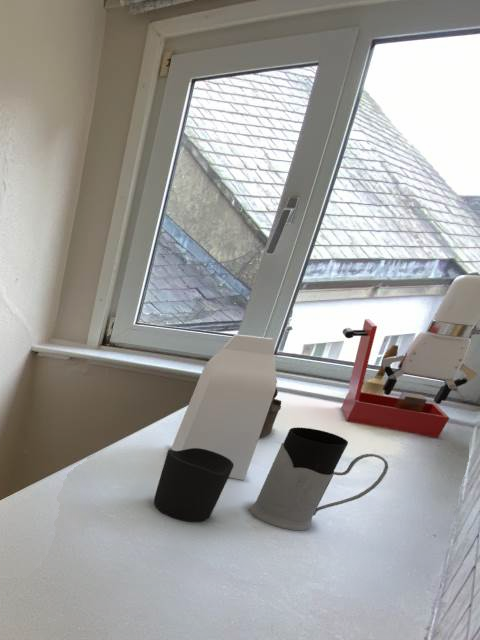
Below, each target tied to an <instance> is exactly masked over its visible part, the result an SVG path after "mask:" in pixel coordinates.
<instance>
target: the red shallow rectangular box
mask: <svg viewBox="0 0 480 640" xmlns="http://www.w3.org/2000/svg"><path fill="white" fill-rule="evenodd" d="M348 390H349V389H348ZM398 399H399V397H395V396H391V395H384V396H383V395H377V394H371V393H365V392H361V393H360V397H359V400H355V399H354V397H353V396H352V394H351V392H350V390H349V391H348V392H347V394H346V396H345V399H344V400H343V403H342V404H341V407H340V409H341V412H342V414H343V416H344V418H345V421H346V422H350V423H354V424H361V425H366V426H371V427H377V428H382V429H386V430H393V431H398V432H404V433H409V434H415V435H420V436H425V437H430V438H436V439H439V437H440V436H441V433H442V432H443V430H444V428H445V427H446V425H447V423H448V421H449V419H450V416H448V414H446V412H445V411H443V409H442V408H440V406H438V404H437V403H431V402H427V401H426V402H425V404H424V406H423V408H422V410H421V412H417V411H411V410H405V409H399V408H394V406H395V404H396V402H397V401H398Z"/></svg>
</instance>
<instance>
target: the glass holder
mask: <svg viewBox="0 0 480 640" xmlns="http://www.w3.org/2000/svg"><path fill="white" fill-rule="evenodd" d="M348 444H349V441H348V440H347V439H345V438H344V437H342V436H339V435H337V434H335V433H331V432H328V431H324V430H321V429H315V428H311V427H292V428H291V427H290V428H289V430H288V432H287V434H286V435H285V439H284V440H283V442H282V443H281V445H280V447H279V448H278V451H277V453H276V456H275V458H274V460H273V462H272V465H271V466H270V469H269V471H268V474H267V476H266V477H265V481H264V483H263V485H262V487H261V489H260V490H259V494H258V496H257V498H256V501H254V503H253V504H251V505H250V506H249V512H250V513H251V514H252V515H253V516H254V517H256V518H257V519H259V520H261V521H263V522H265V523H267V524H270V525H273V526H275V527H279V528H282V529H287V530H290V531H291V530H292V531H307V530H310V529H311V528H312V518H313V516H314V517H315V516H316V514H317V513H318V512H319V511H321V510H325V509H327V508H331V507H336V506H339V505H342V504H347V503H349V502H352V501H355V500H358V499H360V498H362V497H364V496H366V495H367V494H368V493H370V492H371V491H373V490H374V489H376V488H377V486H378V485H379V484H380V483H382V481H383V480H384V478H385V476H386V475H387V473H388V469H389V463H388V460H386V459H385V458H384V457H383V456H381V455H379V454H375V453H365V454H364V453H363V454H361V455H359V456H356V457H355V458H354V459H353V460H352V461H351V462H350V463H349V464H348V467H347V468H346V469H345V470H344V471H343V472H340V471H339V472H338V471H335V470H336V468H337V466H338V464H339V462H340V460H341V458H342V457H343V454H344V452H345V450H346V448H347V446H348ZM371 457H372V458H373V457H374V458H376V459H377V458H378V459H380V460H381V461H382V462H383V463H384V467H383V471H382V472H381V474H380V475H379V477H378V478H377V480H376V481H375V482H373V483H372V485H370V486H368V487H367V488H366V489H364V490H363V491H362V492H360V493H358V494H356V495H353V496H350V497H348V498H345V499H341V500H337V501H333V502H330V503H327V504H324V505H321V506H319V505H320V502H321V501H322V499H323V497H324V494H325V493H326V491H327V489H328V487H329V485H330V483H331V481H332V480H333V478H334V476H345V475H348V474H349V473H350V472H351V471H352V469H353V467H354V466H355V465H356V463H358V462H359V461H361V460H362V459H364V458H371Z"/></svg>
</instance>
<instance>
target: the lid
mask: <svg viewBox="0 0 480 640" xmlns="http://www.w3.org/2000/svg"><path fill="white" fill-rule="evenodd" d="M377 328H378V326H377V325H376V324H375V323H374V322H373V321H372V320H370V319H369V318H366V319H364V322H363V327H362V329H352V328H350V327H346V328H344V329H343V330H342V334H343V336H344V337H345V338H346V339H352V338H354V337H360V338H359V342H358V347H357V351H356V355H355V359H354V363H353V368H352V370H351V376H350V380H349V383H348V390H350V392H351V394H352V396H353V397H354V399H355V400H359V397H360V393H361V389H362V386H363V385H364V382H365V377H366V373H367V369H368V364H369V361H370V356H371V352H372V350H373V349H372V348H373V344H374V341H375V337H376V333H377Z"/></svg>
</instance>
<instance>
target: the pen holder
mask: <svg viewBox="0 0 480 640" xmlns="http://www.w3.org/2000/svg"><path fill="white" fill-rule="evenodd" d="M233 466H234V464H233V462H232V461H231V460H230V459H228V458H226V457H225V456H223V455H220V454H218V453H215V452H212V451H209V450H205V449H200V448H191V449H185V450H181V451H174V450H172V449H168V450H167V453H166V456H165V460H164V463H163V467H162V469H161V473H160V477H159V480H158V482H157V487H156V489H155V490H156V491H155V494H154V498H153V504H154V506H155V508H156V509H157V510H158V511H159V512H161V513H162V514H165V515H166V516H168V517H170V518H174V519H176V520H180V521H185V522H192V523H198V522H204V521H207V520H208V519H210V517H211V515H212V513H213V511H214V510H215V508H216V505H217V503H218V501H219V499H220V497H221V495H222V492H223V490H224V488H225V486H226V484H227V481H228V479H229V478H230V477H229V475H230V473H231V471H232V469H233Z"/></svg>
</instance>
